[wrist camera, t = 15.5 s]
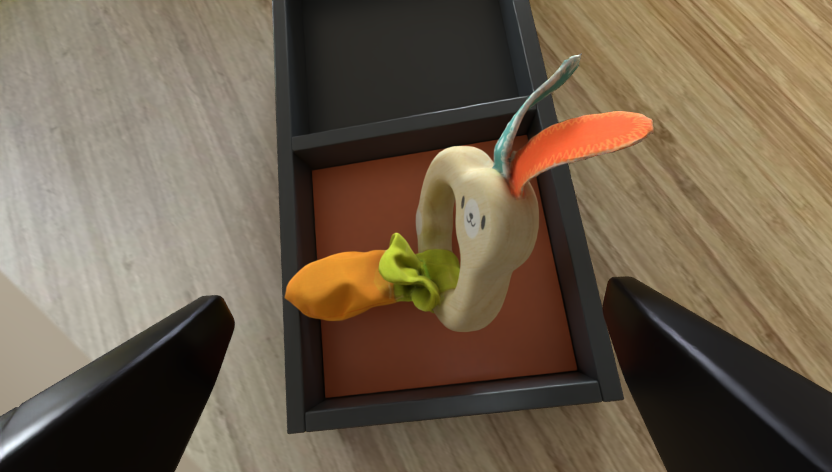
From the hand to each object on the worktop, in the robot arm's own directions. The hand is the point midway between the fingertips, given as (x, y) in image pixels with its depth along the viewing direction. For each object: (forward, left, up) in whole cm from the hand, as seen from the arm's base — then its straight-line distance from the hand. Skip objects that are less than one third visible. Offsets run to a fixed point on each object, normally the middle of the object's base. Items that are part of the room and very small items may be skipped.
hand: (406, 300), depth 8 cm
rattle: (+3, +2, -9) cm, 9 cm away
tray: (+9, 0, -10) cm, 13 cm away
